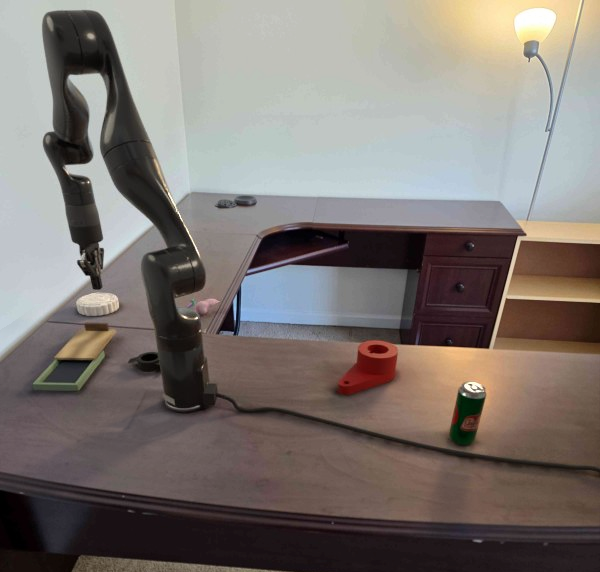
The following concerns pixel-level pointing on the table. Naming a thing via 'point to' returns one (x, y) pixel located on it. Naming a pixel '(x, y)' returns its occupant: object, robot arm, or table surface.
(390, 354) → the lever
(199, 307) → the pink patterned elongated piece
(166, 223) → the robot arm
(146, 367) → the black wing nut
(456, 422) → the soda can
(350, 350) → the table surface
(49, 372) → the sliding lid box
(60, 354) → the slide lid
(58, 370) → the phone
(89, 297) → the mooncake
